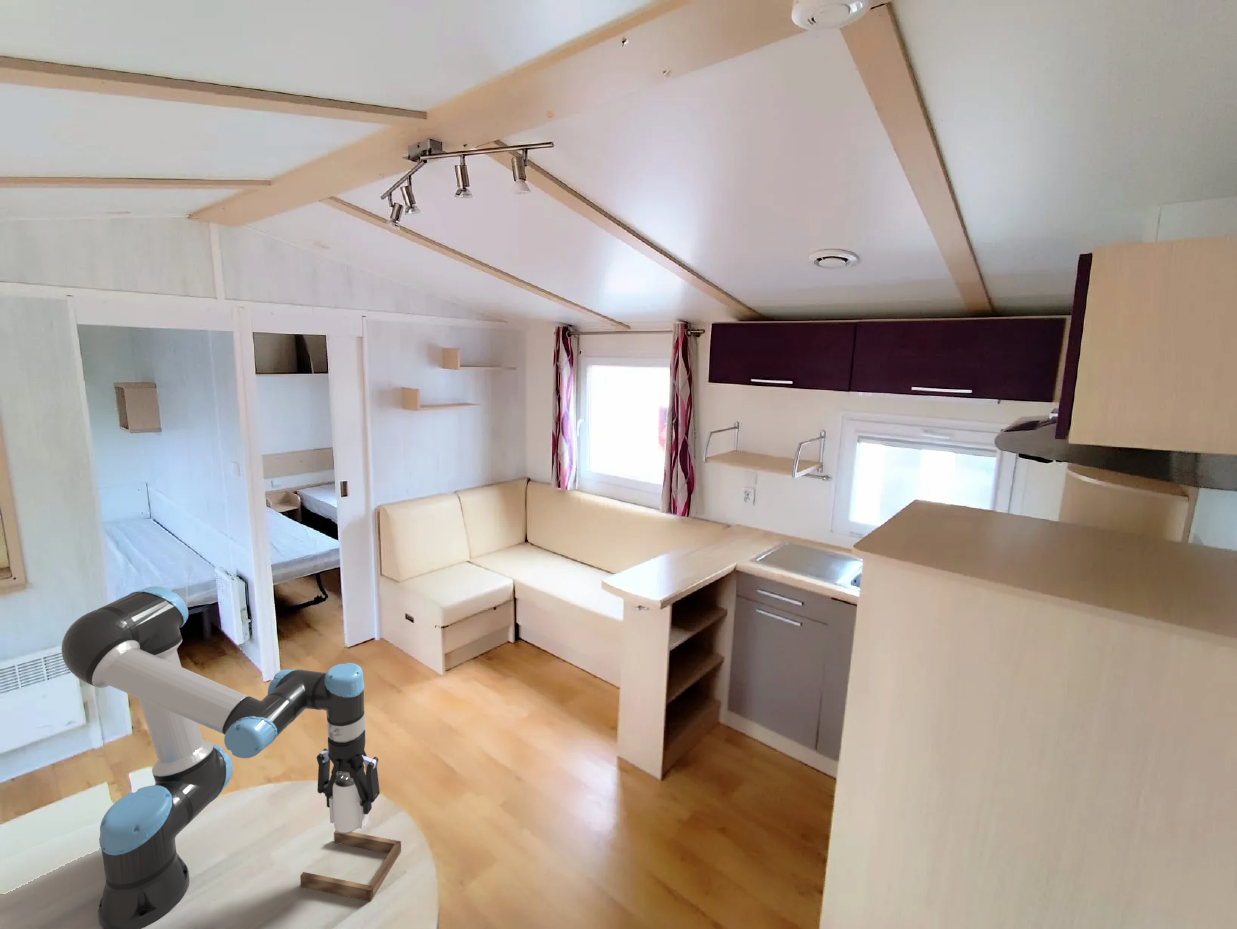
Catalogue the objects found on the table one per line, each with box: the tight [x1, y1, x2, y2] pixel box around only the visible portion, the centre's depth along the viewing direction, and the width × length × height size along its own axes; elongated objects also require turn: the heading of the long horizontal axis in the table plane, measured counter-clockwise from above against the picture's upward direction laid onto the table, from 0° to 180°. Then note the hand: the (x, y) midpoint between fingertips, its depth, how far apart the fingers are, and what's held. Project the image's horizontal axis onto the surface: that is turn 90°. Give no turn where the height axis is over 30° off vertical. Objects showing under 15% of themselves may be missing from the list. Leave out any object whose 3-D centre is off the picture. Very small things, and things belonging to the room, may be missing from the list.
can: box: [333, 771, 361, 833], centre depth 130 cm, size 6×6×12 cm
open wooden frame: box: [299, 829, 402, 902], centre depth 134 cm, size 17×13×3 cm
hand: (349, 820), depth 131 cm, fingers closed on can, 6 cm apart
